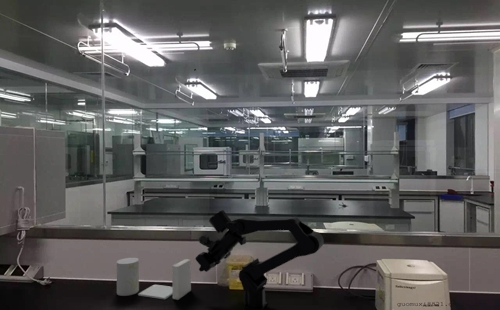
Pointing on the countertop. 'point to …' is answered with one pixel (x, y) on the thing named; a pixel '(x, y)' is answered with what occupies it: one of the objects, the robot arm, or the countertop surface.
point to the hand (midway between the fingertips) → (200, 270)
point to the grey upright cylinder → (127, 276)
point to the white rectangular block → (181, 278)
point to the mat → (157, 292)
